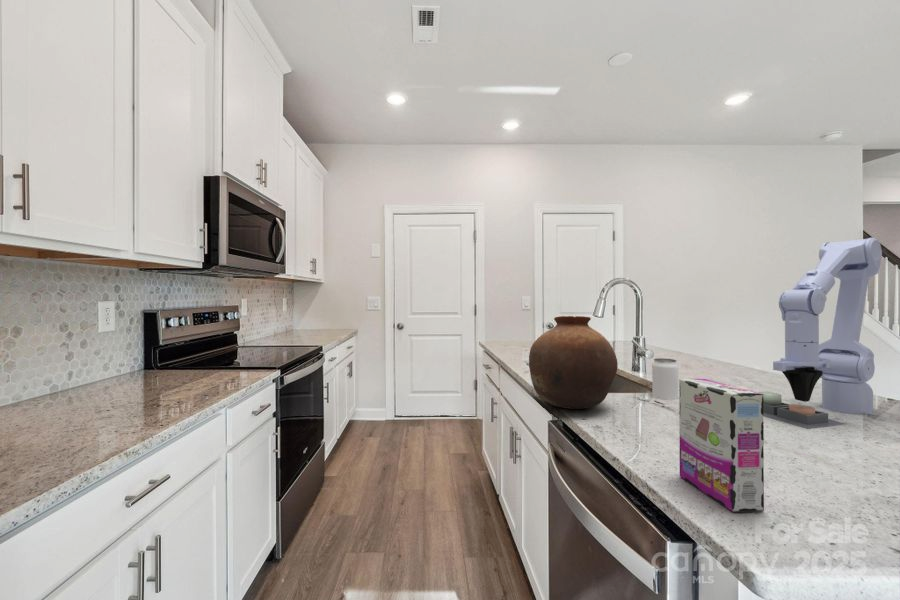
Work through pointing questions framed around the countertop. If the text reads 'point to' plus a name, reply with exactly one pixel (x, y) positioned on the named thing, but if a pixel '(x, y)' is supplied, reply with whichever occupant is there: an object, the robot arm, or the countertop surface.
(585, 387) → the pottery
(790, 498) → the countertop surface
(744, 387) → the cream button
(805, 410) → the terracotta button
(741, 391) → the candy bar box
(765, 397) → the sage button
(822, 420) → the panel
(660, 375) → the can
